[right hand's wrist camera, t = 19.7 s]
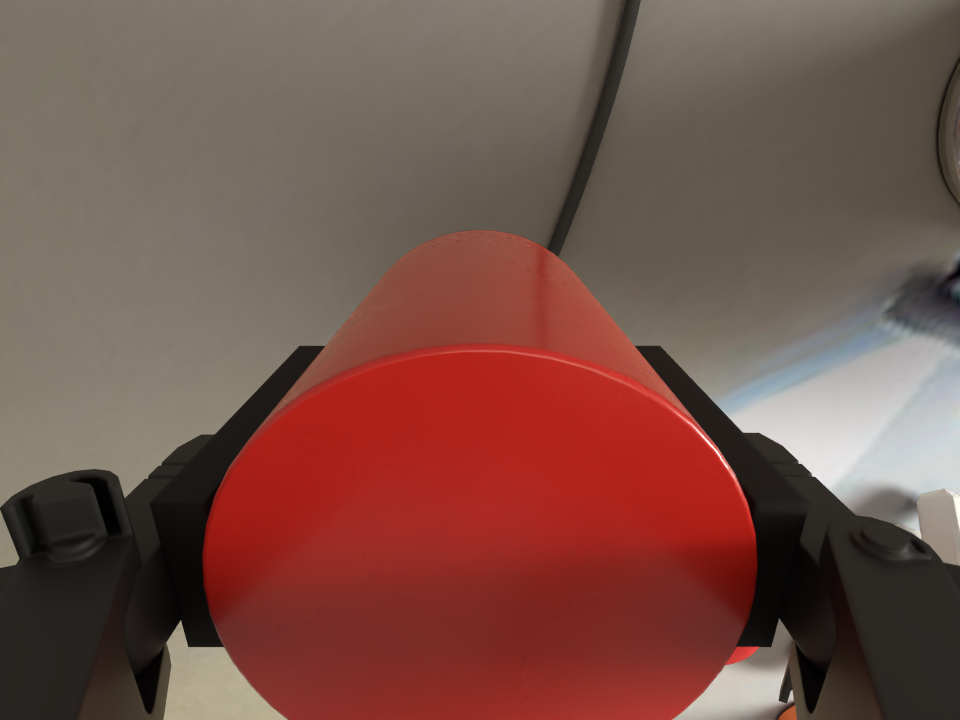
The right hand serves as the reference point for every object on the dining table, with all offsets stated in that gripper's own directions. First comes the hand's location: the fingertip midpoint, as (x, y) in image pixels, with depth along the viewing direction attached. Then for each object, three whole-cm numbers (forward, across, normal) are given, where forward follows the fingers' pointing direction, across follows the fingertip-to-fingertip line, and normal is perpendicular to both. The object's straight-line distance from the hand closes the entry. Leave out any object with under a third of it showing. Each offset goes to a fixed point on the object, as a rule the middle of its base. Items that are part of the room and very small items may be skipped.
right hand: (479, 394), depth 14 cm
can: (+3, 0, 0) cm, 3 cm away
